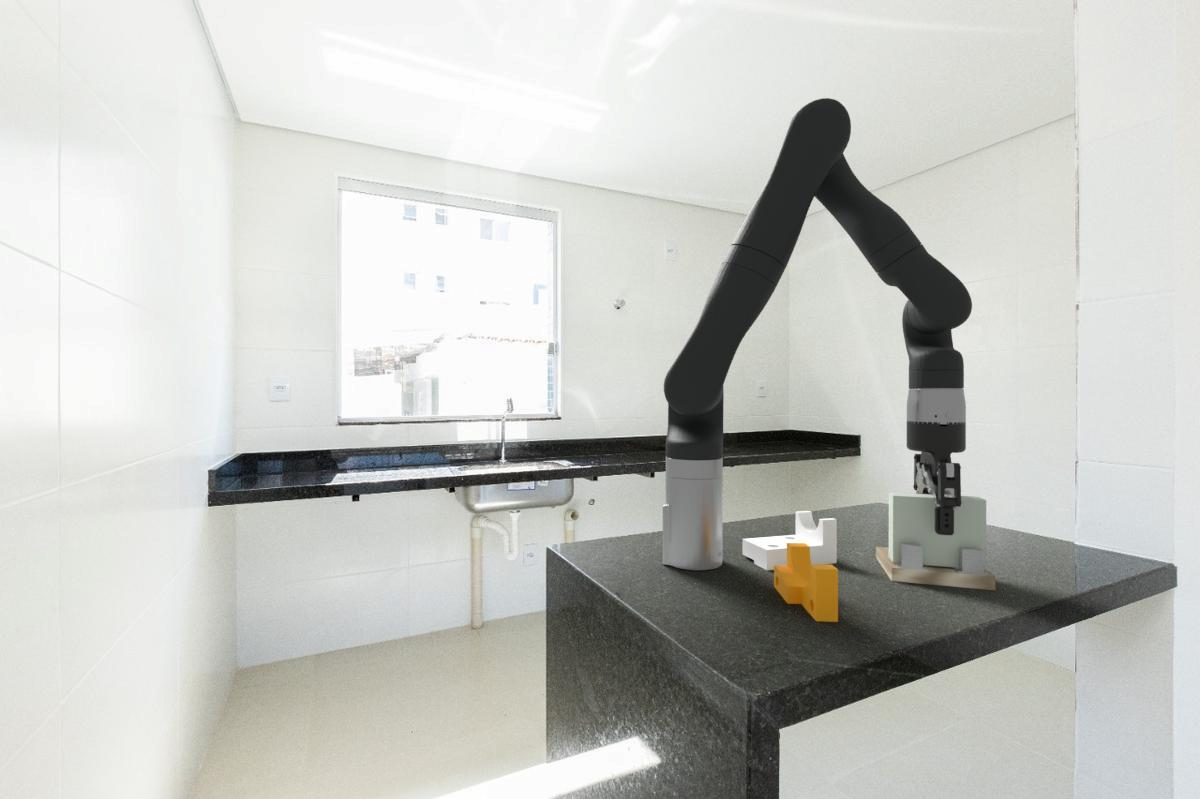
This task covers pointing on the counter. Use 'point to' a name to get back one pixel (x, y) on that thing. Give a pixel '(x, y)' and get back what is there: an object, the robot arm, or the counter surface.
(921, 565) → the grey slotted panel holder
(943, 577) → the wooden base board
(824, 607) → the orange stepped block
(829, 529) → the bracket
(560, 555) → the counter surface
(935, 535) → the door
